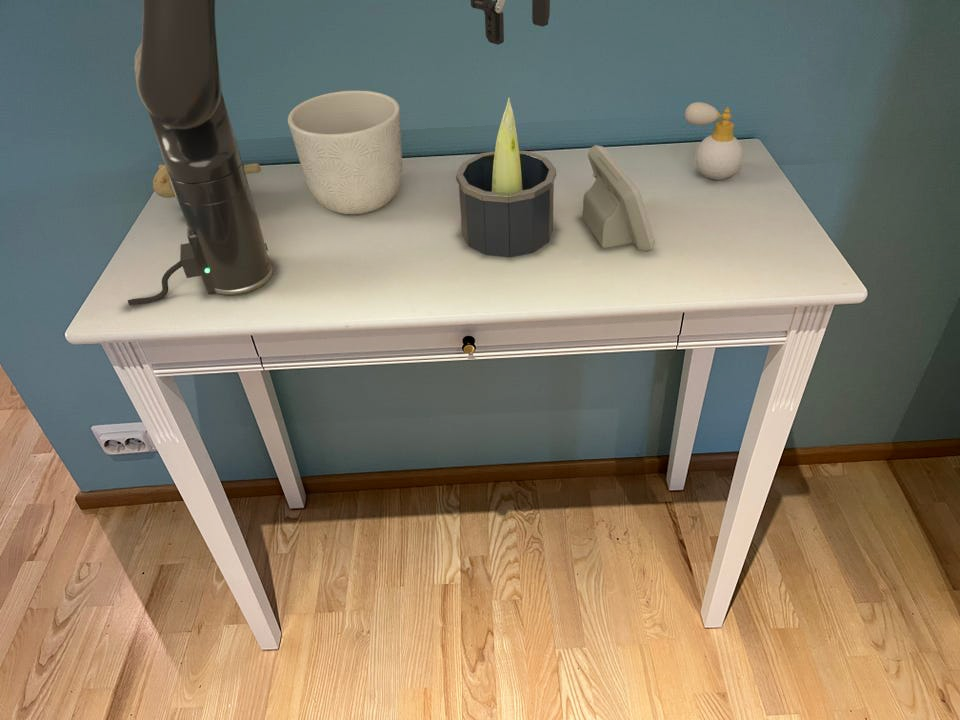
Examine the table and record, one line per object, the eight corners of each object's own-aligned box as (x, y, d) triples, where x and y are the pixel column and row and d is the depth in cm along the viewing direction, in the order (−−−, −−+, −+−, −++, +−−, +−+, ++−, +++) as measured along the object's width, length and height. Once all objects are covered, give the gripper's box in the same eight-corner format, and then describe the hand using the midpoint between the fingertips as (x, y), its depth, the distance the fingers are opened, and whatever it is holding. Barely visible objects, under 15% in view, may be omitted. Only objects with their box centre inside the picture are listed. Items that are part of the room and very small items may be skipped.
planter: (384, 234, 113) (370, 140, 103) (288, 219, 118) (266, 129, 108) (425, 182, 125) (416, 94, 115) (336, 171, 130) (320, 86, 120)
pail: (476, 265, 106) (472, 203, 99) (451, 218, 116) (446, 159, 109) (567, 247, 108) (569, 185, 101) (535, 202, 118) (535, 143, 112)
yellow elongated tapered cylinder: (533, 235, 111) (533, 109, 98) (505, 246, 109) (502, 119, 96) (511, 219, 115) (509, 96, 102) (484, 230, 113) (478, 105, 100)
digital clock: (656, 256, 105) (665, 189, 98) (593, 260, 105) (597, 193, 98) (634, 200, 117) (641, 137, 110) (578, 204, 117) (581, 141, 110)
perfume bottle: (745, 184, 120) (760, 113, 112) (686, 189, 119) (697, 118, 112) (730, 163, 125) (743, 94, 117) (674, 168, 125) (683, 98, 117)
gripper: (533, -127, 89) (532, 14, 100) (449, -108, 82) (458, 43, 92) (582, -122, 85) (576, 25, 96) (498, -102, 78) (502, 55, 88)
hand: (518, 33), depth 94 cm, fingers open, 8 cm apart
